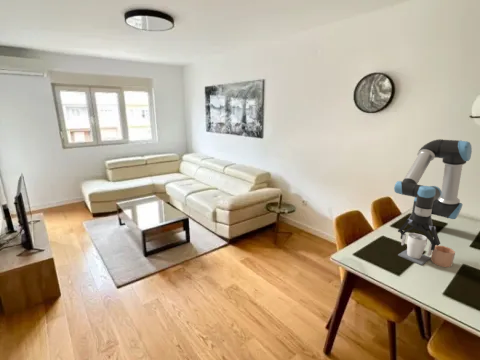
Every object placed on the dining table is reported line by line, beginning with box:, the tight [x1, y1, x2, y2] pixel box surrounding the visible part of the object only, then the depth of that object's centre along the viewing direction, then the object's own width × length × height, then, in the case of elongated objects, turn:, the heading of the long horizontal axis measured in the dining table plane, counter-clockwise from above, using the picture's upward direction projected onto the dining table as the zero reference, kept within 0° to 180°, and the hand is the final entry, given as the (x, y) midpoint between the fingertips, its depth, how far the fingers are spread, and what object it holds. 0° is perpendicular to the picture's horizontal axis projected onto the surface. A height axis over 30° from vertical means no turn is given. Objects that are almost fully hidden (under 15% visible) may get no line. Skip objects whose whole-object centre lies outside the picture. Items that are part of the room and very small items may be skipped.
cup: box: [406, 232, 428, 259], centre depth 147 cm, size 9×9×12 cm
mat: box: [397, 248, 431, 266], centre depth 148 cm, size 12×12×1 cm
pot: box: [430, 245, 456, 268], centre depth 142 cm, size 9×9×8 cm
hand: (415, 249), depth 147 cm, fingers open, 13 cm apart
